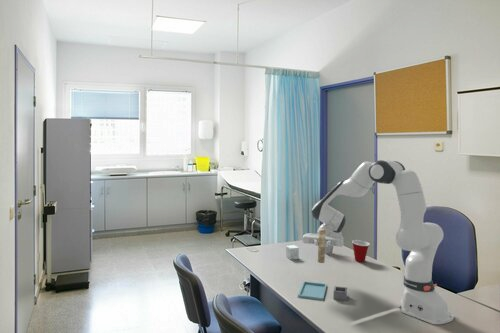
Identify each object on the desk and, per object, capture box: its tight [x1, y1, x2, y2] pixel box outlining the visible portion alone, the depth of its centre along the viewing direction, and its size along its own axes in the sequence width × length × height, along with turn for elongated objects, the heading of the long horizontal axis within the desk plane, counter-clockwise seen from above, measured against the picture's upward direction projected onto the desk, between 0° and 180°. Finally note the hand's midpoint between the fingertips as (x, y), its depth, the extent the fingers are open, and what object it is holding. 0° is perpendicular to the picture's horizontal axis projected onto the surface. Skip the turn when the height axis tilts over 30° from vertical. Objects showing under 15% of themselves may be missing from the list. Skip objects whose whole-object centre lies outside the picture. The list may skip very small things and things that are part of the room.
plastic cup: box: [351, 239, 370, 263], centre depth 240 cm, size 11×11×12 cm
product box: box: [285, 244, 300, 260], centre depth 245 cm, size 6×6×7 cm
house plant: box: [325, 246, 334, 255], centre depth 253 cm, size 14×14×16 cm
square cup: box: [333, 285, 348, 302], centre depth 185 cm, size 6×6×5 cm
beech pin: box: [317, 228, 326, 264], centre depth 188 cm, size 3×3×16 cm
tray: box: [297, 280, 328, 301], centre depth 192 cm, size 18×12×2 cm, turn 164°
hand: (321, 244), depth 187 cm, fingers closed on beech pin, 3 cm apart
